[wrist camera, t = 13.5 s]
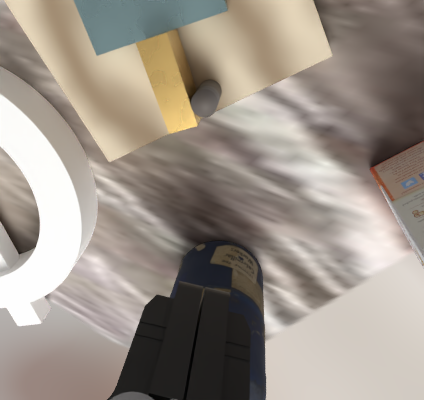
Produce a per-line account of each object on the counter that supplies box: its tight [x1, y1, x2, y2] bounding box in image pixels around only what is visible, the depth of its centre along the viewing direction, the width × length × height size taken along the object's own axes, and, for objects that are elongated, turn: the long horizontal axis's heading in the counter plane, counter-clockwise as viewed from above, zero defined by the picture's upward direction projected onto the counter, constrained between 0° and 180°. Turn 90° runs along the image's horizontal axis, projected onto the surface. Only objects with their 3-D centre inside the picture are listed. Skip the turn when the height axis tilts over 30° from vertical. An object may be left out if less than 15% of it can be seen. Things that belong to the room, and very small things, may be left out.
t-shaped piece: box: [74, 0, 228, 134], centre depth 28 cm, size 18×11×4 cm, turn 17°
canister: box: [170, 241, 266, 400], centre depth 37 cm, size 10×10×18 cm
